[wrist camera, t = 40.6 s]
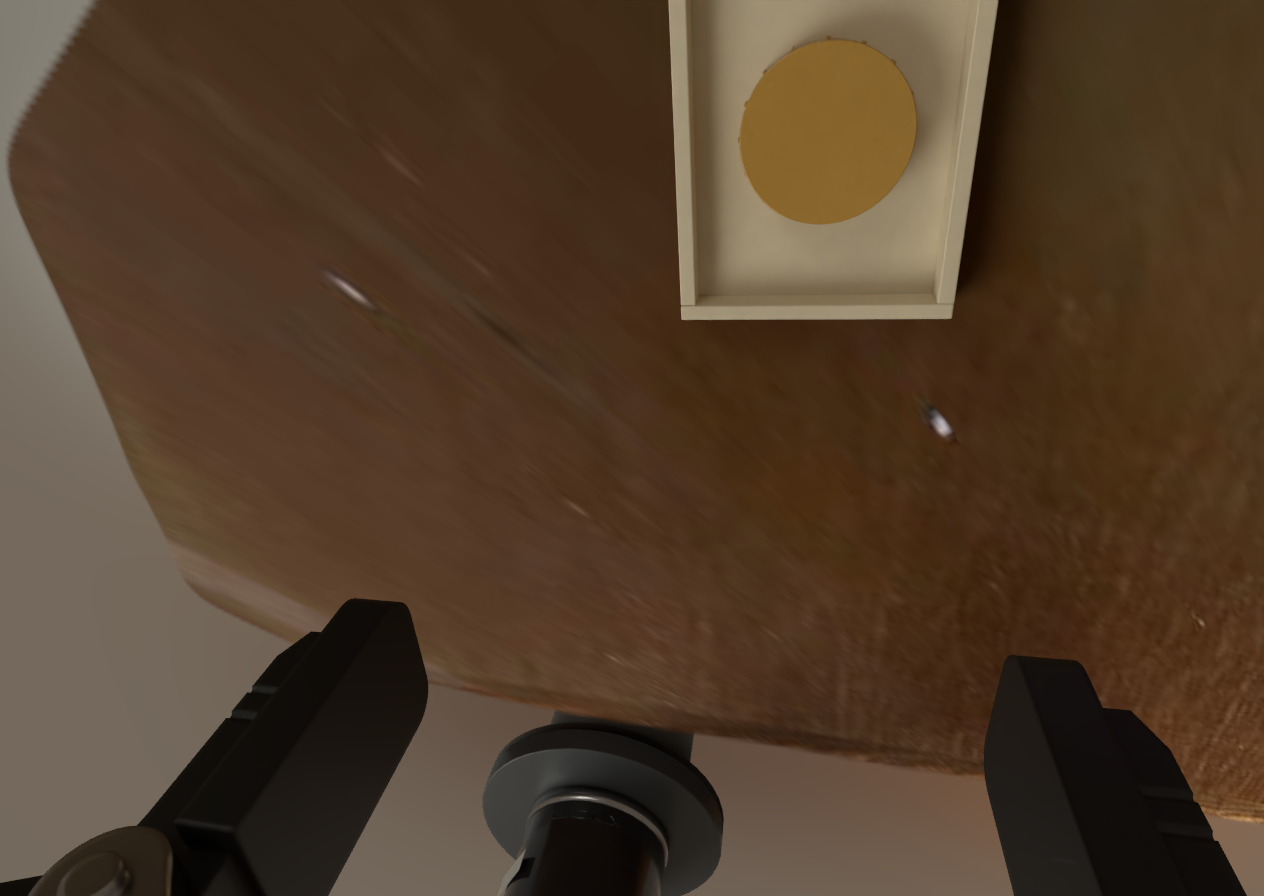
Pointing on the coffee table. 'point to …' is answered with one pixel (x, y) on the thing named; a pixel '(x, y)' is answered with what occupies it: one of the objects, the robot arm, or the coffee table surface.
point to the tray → (839, 252)
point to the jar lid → (828, 131)
